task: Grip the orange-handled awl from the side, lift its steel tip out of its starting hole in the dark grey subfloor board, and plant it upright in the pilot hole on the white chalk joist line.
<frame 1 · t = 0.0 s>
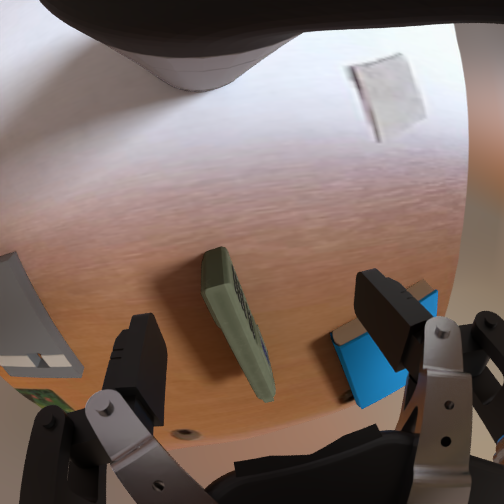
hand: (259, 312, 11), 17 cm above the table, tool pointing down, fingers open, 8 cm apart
subfloor board: (11, 322, 28), on the table
book: (384, 346, 44), on the table
handheld radio: (245, 329, 35), on the table
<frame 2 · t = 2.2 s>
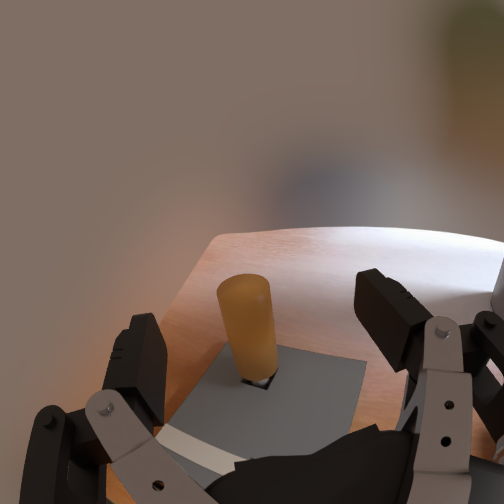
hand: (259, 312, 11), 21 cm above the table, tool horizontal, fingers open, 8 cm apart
subfloor board: (263, 426, 25), on the table
awl: (261, 385, 30), resting in subfloor board
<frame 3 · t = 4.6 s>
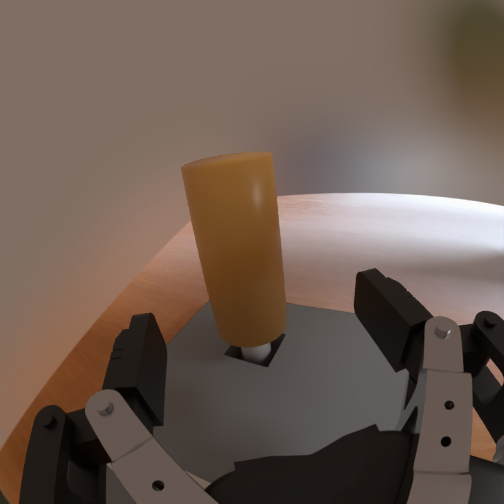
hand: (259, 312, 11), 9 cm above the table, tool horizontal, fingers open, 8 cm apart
subfloor board: (261, 430, 14), on the table
awl: (258, 363, 19), resting in subfloor board
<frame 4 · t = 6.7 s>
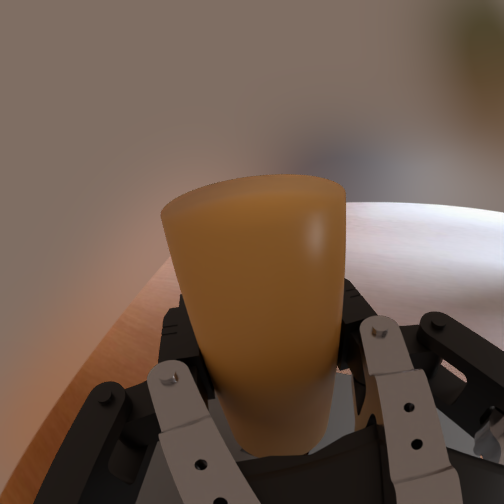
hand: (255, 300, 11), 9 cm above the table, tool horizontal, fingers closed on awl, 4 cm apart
awl: (282, 450, 13), resting in subfloor board, touching gripper
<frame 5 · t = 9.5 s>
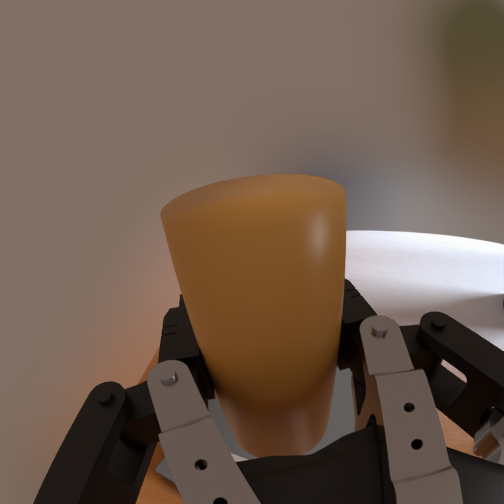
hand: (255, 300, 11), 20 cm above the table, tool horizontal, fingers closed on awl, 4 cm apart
subfloor board: (286, 432, 24), on the table
awl: (282, 450, 13), point 11 cm above the table, touching gripper
when the fingers open (10 cm above the table, at t = 12.2 s): awl stays where it is, resting in subfloor board.
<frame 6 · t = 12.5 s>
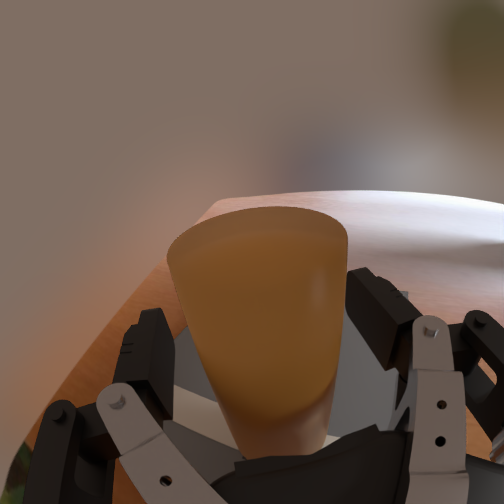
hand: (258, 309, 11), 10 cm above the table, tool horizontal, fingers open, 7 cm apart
subfloor board: (282, 376, 19), on the table
awl: (284, 457, 13), resting in subfloor board
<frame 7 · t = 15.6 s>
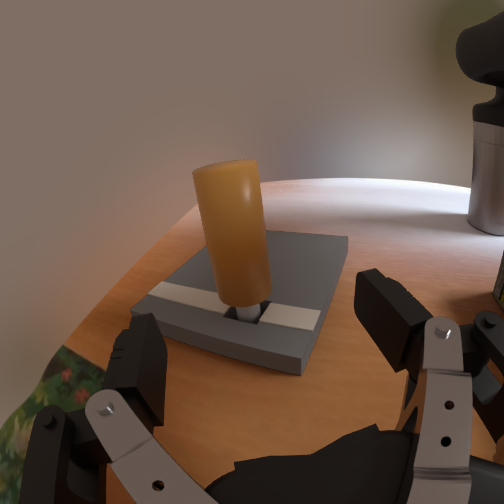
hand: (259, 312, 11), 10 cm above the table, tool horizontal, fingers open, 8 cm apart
subfloor board: (254, 286, 31), on the table
awl: (251, 326, 25), resting in subfloor board
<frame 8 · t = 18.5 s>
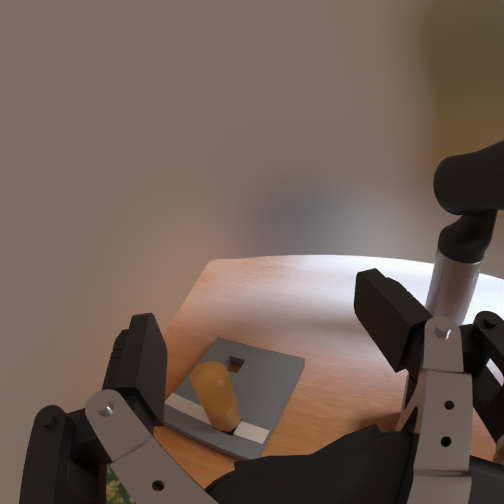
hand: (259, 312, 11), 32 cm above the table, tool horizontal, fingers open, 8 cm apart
subfloor board: (234, 396, 42), on the table
awl: (230, 430, 36), resting in subfloor board
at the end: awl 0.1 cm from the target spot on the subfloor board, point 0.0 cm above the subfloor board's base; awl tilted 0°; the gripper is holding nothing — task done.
